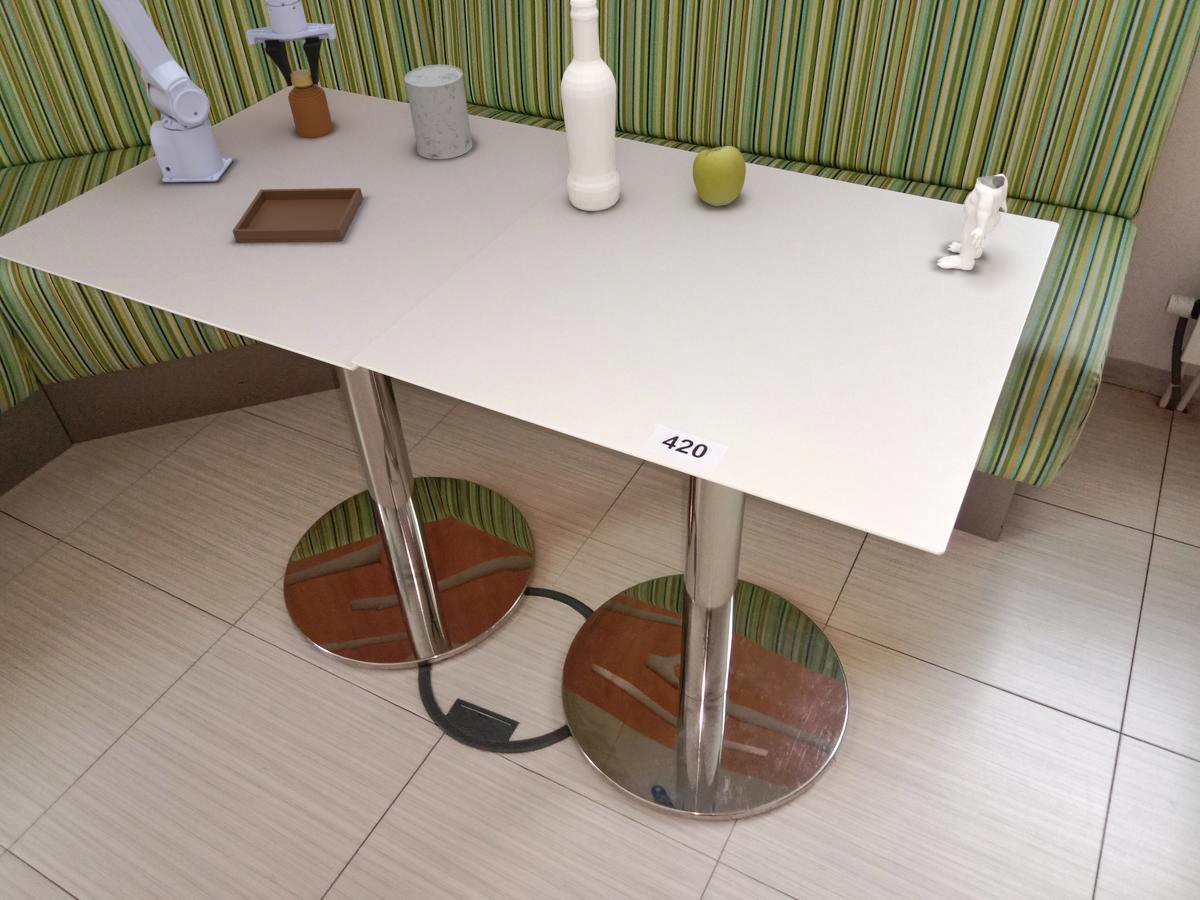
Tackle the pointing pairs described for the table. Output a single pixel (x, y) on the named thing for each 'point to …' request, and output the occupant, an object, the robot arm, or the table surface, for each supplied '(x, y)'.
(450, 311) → the table surface
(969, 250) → the toy creature
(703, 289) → the table surface
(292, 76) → the cap
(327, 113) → the amber bottle
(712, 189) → the apple
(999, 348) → the table surface
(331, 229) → the tray
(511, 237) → the table surface
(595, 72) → the bottle
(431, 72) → the gray speckled cylinder
